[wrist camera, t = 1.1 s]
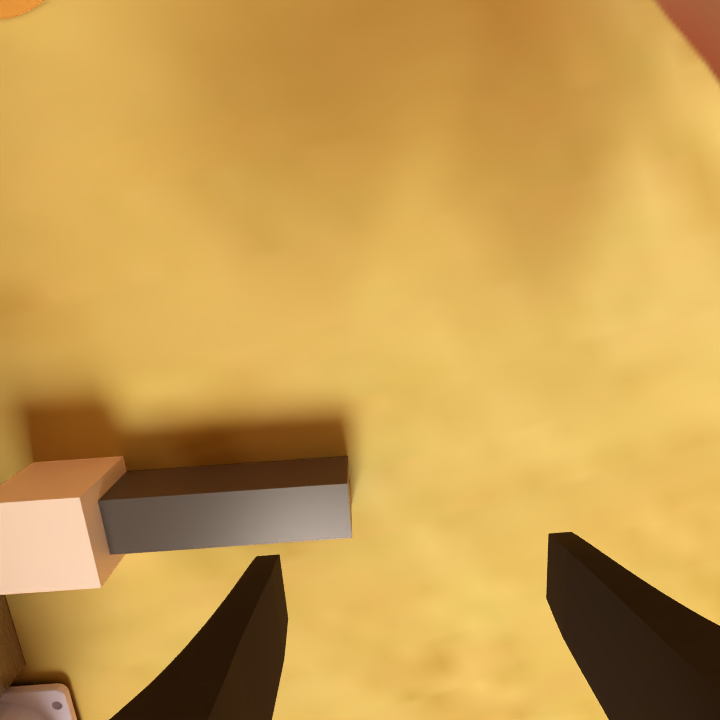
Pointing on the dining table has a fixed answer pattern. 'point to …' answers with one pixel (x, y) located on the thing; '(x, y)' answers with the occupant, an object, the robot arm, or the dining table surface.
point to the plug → (157, 514)
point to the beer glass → (16, 7)
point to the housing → (8, 649)
